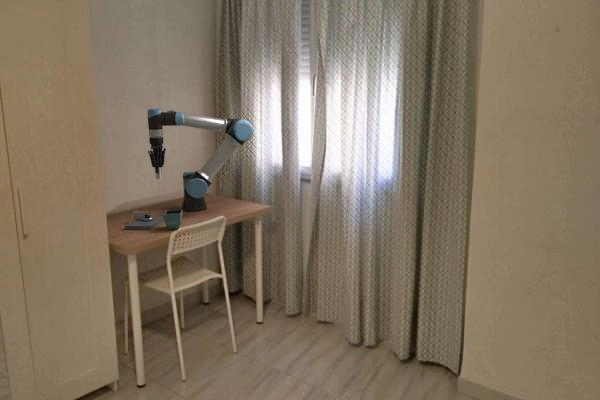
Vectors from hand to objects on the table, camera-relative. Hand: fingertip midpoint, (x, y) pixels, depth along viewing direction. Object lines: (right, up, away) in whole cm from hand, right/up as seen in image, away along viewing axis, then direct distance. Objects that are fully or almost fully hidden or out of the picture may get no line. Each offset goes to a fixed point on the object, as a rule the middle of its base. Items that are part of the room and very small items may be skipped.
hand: (158, 178), depth 285 cm
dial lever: (-6, -23, -8) cm, 25 cm away
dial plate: (-5, -25, -10) cm, 28 cm away
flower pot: (+13, -27, -17) cm, 35 cm away
